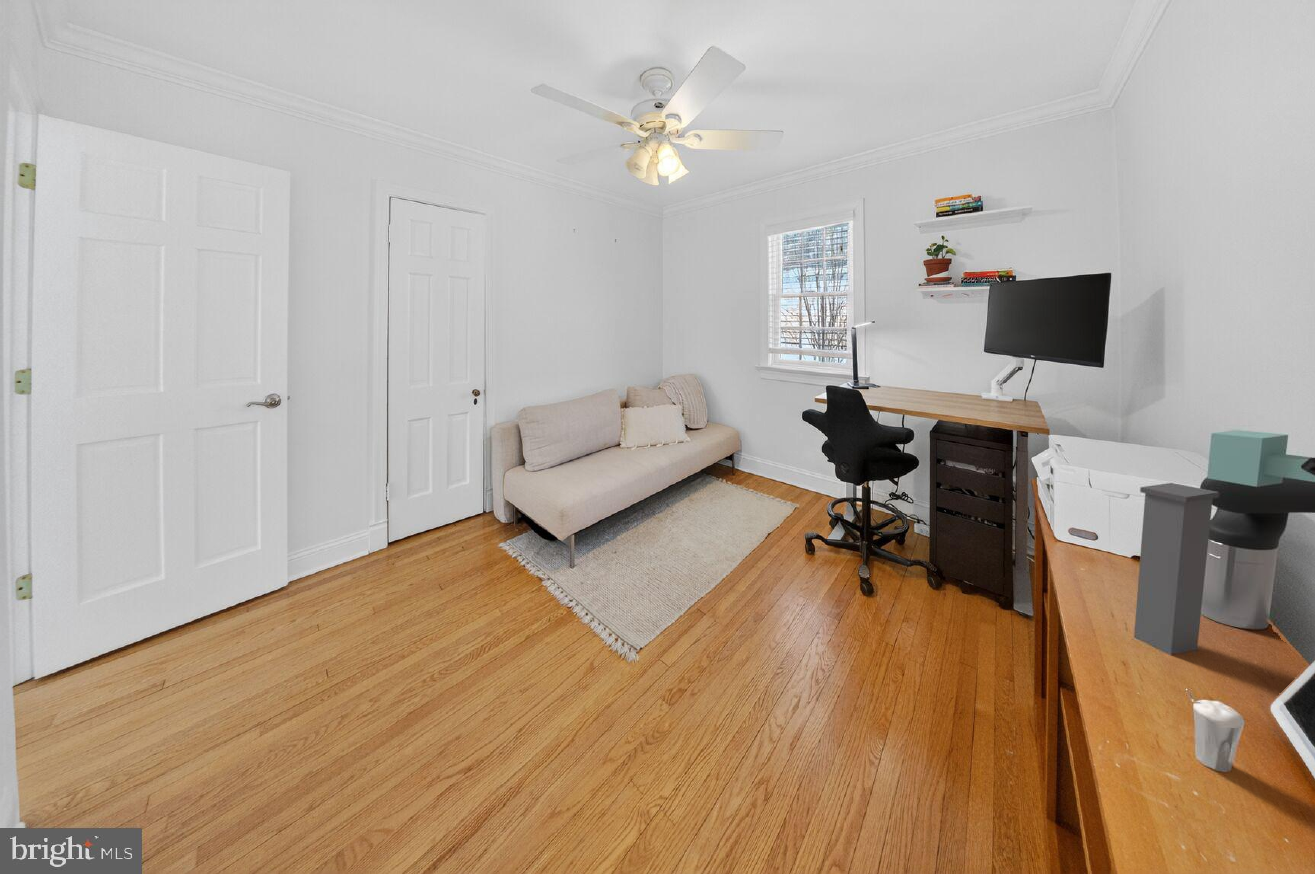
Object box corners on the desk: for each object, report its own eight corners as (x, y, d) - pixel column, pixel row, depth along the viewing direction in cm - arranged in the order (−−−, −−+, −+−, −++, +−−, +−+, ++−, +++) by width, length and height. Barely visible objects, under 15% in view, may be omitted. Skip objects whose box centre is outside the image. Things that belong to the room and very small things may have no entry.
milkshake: (1185, 740, 68) (1191, 682, 67) (1242, 766, 64) (1249, 704, 62) (1175, 754, 66) (1181, 694, 65) (1233, 782, 62) (1241, 718, 60)
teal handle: (1207, 478, 78) (1211, 433, 77) (1231, 474, 79) (1235, 429, 77) (1348, 502, 63) (1356, 447, 62) (1376, 498, 64) (1385, 443, 63)
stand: (1129, 636, 92) (1140, 487, 87) (1158, 630, 93) (1171, 482, 88) (1171, 657, 85) (1186, 497, 80) (1202, 651, 86) (1219, 492, 81)
